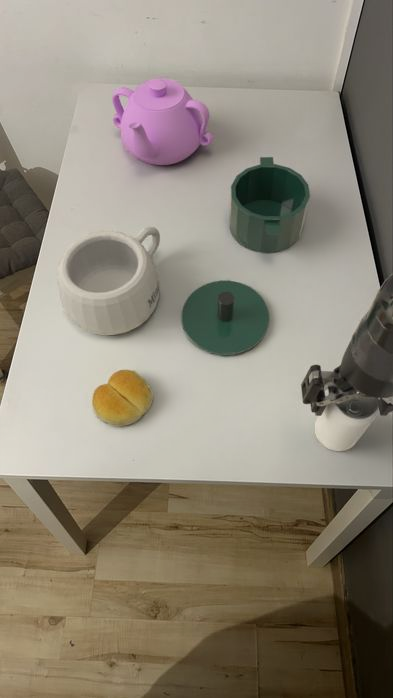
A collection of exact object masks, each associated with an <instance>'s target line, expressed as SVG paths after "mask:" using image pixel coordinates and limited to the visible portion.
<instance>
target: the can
mask: <svg viewBox="0 0 393 698" xmlns="http://www.w3.org/2000/svg"><path fill="white" fill-rule="evenodd" d="M339 391H340V394H341V393H344V392H342V391H341V390H340V389H339ZM379 399H380V398H374V397H359V398H355V397H354V398H352V399H349V400H347V401H344V402H342V403H339V404H337V403H335V402H332V403H330V404H327V405H326V408H325V410H324V411H323V413H322V415H321V416H317V417H316V420H315V423H314V433H315V436H316V438H317V440H318V441H319V443H320V444H321V445H322V446H324V448H326V449H327V450H328V449H329V450H331V451H334V452H335V451H336V452H344V451H348V450H350V449H351V448H353V447H354V446H355V445H356V444H357V443H358V441H359V440H360V439H361V438H362V436H363V435H364V433H365V432H366V431H367V429H368V428H369V427H370V426H371V424H372V423H373V422H374V420H375V419H376V417H377V415H378V412H379V407H378V404H379Z"/></svg>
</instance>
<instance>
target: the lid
mask: <svg viewBox="0 0 393 698" xmlns="http://www.w3.org/2000/svg"><path fill="white" fill-rule="evenodd" d="M269 322H270V313H269V308H268V305H267V303H266V301H265V299H264V298H263V297H262V296H261V295H260V293H259V292H257V291H256V290H255V289H254V288H252V287H251V286H249V285H247V284H245V283H242V282H239V281H234V280H216V281H211V282H208V283H205V284H203V285H202V286H199V287H198V288H196V289H195V290H194V291H192V292H191V293H190V294H189V296H188V297H187V298H186V300H185V302H184V304H183V306H182V310H181V324H182V329H183V330H184V332H185V333H184V334H186V336H187V338H188V339H189V340H190V341H191V342H192V343H193V344H194V345H195V346H197V347H198V348H199V349H201V350H203V351H206V352H207V353H210V354H214V355H219V356H231V355H232V356H233V355H238V354H241V353H244V352H246V351H248V350H250V349H252V348H253V347H255V346H257V344H259V342H260V341H261V340H262V339H263V338H264V336H265V334H266V333H267V332H268V331H267V330H268V328H269Z"/></svg>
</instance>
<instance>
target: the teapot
mask: <svg viewBox="0 0 393 698" xmlns="http://www.w3.org/2000/svg"><path fill="white" fill-rule="evenodd" d="M120 96H123V97H125V98H127V99H128V100H127V102H126V105H125V107H123V105H122V102H121V98H120ZM111 100H112V106H113V107H114V110H115V112H116V113H115V114H114V115H113V117H112V122H113V124H114V126H115V127H116V128H118V129H120V136H121V142H122V144H123V146H124V148H125V149H126V150H127V152H128V153H130V154H131V155H132V156H133V157H135V158H136V159H138V160H140V161H142V162H144V163H146V164H149V165H155V166H168V165H174V164H178V163H180V162H182V161H183V160H186V159H187V158H188V157H190V156H191V155H192V154H193V153H194V152H195V151H196V150H197V149H198V148H199V147H200V145H201V146H202V147H208V146H211V145H212V143H213V142H214V136H213V134H212V133H211V132H209V131H207V128H208V125H209V121H210V110H209V108H208V106H207V105H206V104H205V103H203V102H202V101H200V100H197V99H193V97H192V96H191V94H190V93H189V92H188V90H186V88H185V87H184V86H183V85H182V84H181V83H179V82H178V81H175V80H173V79H169V78H152V79H148V80H146V81H144V82H142V83H140V84H139V85H138V86H137V87H135V89H134V90H133V89H131V88H129V87H125V86H121V87H118V88H116V89H115V90H114V92H113V93H112V96H111Z"/></svg>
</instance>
